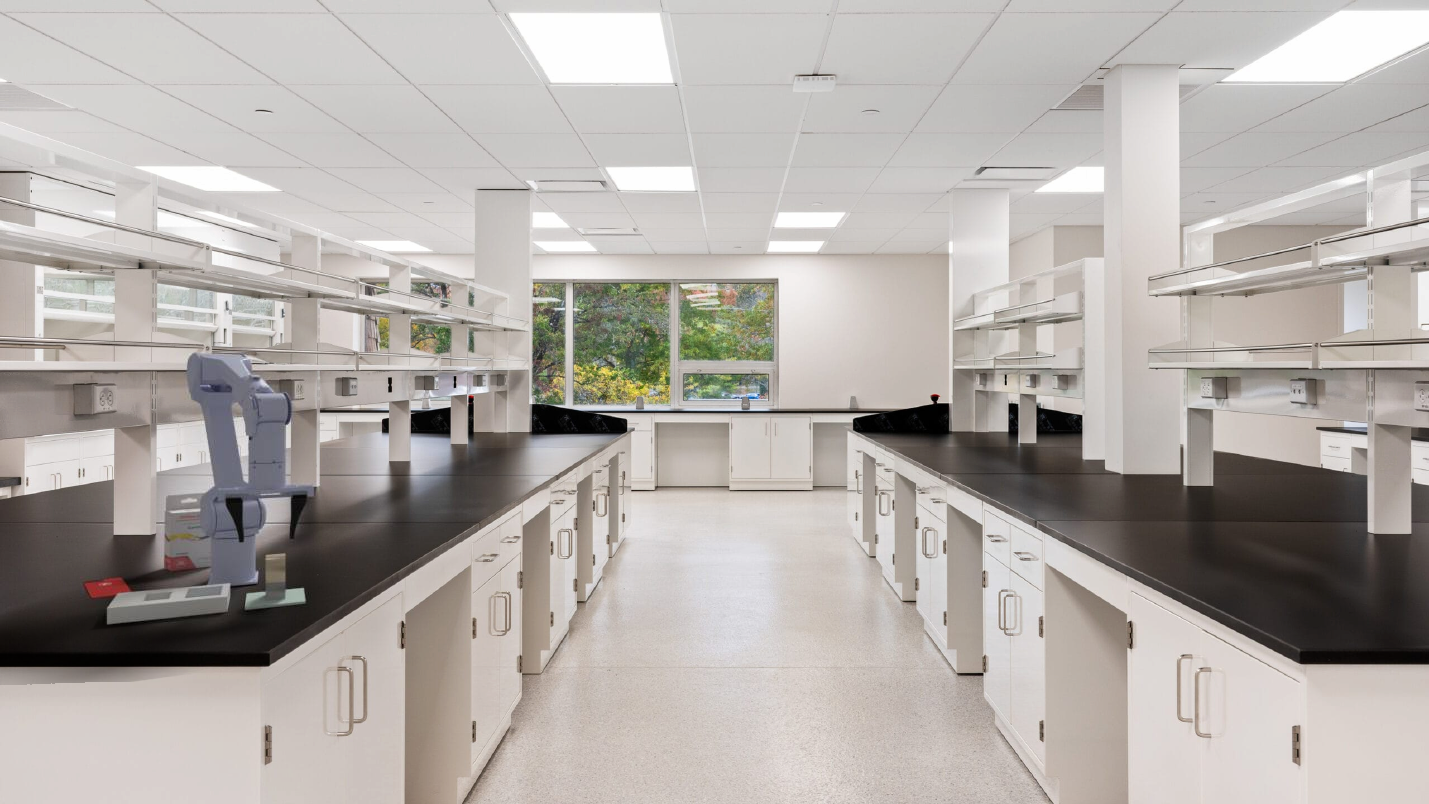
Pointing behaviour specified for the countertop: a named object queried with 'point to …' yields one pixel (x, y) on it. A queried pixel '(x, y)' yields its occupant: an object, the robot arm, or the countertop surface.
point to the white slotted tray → (168, 603)
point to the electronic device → (106, 587)
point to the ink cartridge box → (185, 534)
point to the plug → (275, 577)
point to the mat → (260, 601)
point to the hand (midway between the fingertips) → (267, 539)
